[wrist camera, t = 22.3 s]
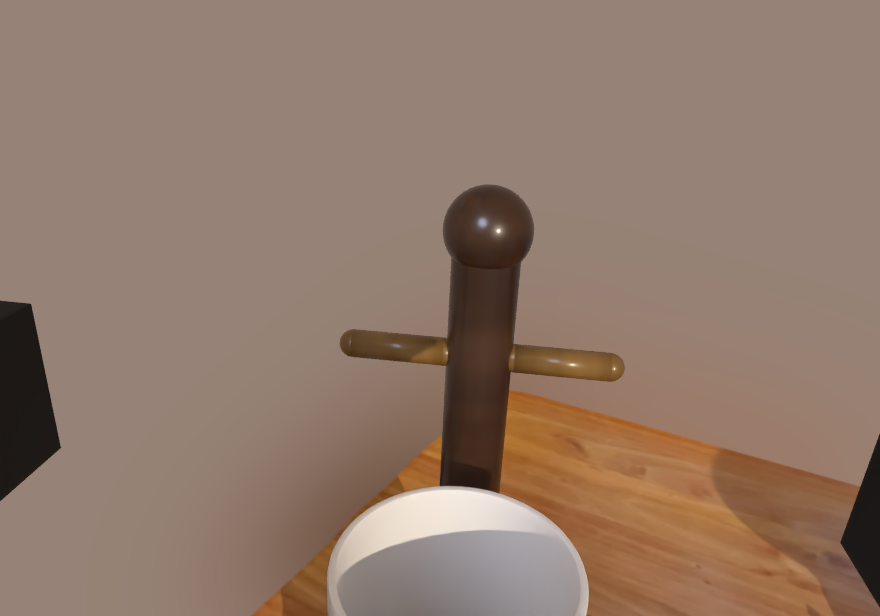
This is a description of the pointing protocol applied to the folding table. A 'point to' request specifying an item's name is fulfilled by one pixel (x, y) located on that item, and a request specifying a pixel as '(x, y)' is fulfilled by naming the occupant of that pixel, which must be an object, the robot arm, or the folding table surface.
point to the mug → (455, 559)
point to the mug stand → (481, 336)
